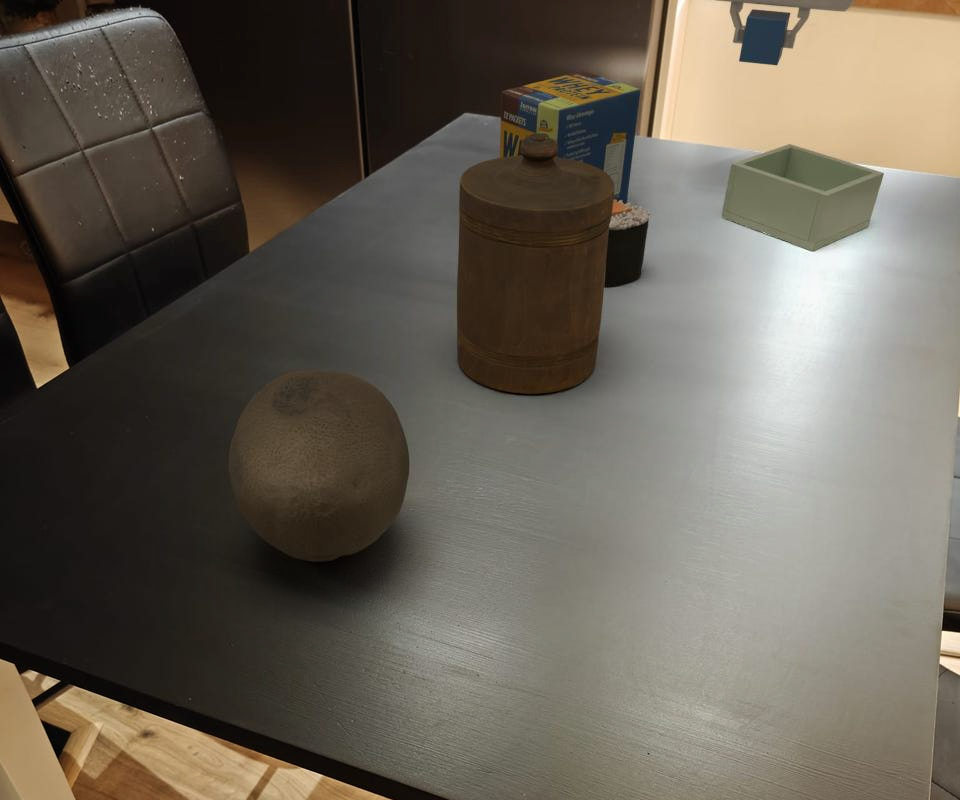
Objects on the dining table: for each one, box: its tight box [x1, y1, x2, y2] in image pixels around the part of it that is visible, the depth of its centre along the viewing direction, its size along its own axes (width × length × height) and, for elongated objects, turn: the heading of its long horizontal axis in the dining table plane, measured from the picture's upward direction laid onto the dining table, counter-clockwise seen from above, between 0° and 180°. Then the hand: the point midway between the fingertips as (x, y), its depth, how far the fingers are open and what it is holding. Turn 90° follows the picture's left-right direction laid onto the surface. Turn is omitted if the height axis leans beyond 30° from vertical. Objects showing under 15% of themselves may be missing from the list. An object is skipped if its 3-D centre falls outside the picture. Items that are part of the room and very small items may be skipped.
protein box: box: [499, 70, 642, 204], centre depth 124 cm, size 10×15×16 cm
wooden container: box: [456, 133, 614, 395], centre depth 92 cm, size 15×15×22 cm
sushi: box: [604, 199, 651, 288], centre depth 113 cm, size 8×8×8 cm
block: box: [738, 9, 791, 66], centre depth 123 cm, size 5×5×5 cm
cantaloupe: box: [228, 368, 410, 563], centre depth 71 cm, size 14×14×15 cm
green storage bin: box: [721, 143, 885, 252], centre depth 126 cm, size 15×13×7 cm
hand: (762, 44), depth 123 cm, fingers closed on block, 5 cm apart
